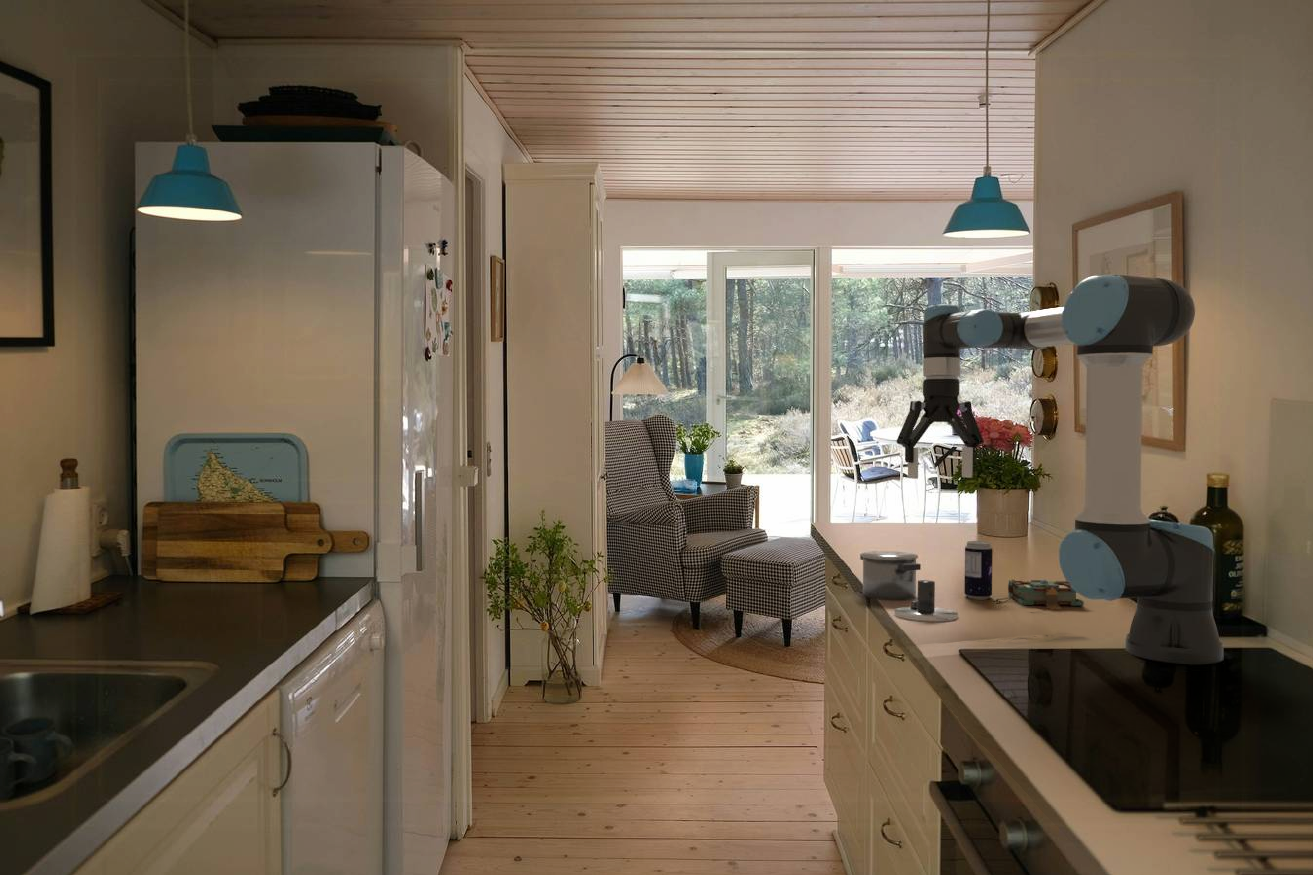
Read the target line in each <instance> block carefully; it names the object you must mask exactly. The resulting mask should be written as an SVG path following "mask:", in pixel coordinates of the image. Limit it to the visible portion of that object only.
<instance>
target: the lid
mask: <svg viewBox="0 0 1313 875" xmlns="http://www.w3.org/2000/svg"><path fill="white" fill-rule="evenodd" d="M935 583H936V582H935V581H934V580H925V579H923V580H918V581H917V600H910V606H902V607H897V608H895V609H894V614H893V615H894V616H895V617H896V618H899V619H902V620H907V621H911V622H912V621H913V622H924V623H925V622H926V623H945V622H951V621H952V622H953V621H956V620H958V619H959V613H958V612H957V611H956V610H952V609H950V608H949V609H948V608H943V607H937V606H936V607H935V597H936V596H935V594H936V592H935V590H936V588H935V585H936V584H935Z"/></svg>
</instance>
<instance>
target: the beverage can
mask: <svg viewBox="0 0 1313 875" xmlns="http://www.w3.org/2000/svg"><path fill="white" fill-rule="evenodd" d="M993 555H994V554H993V547H992V545H991V542H990V541H985V540H983V541H982V540H981V541H979V540H970V541H966V545H965V547H964V584H963V585H964V586H963V587H964V589H963V590H964V591H963V592H964V595H965V596H966V597H967V598H968V599H973V600H978V601H979V600H980V601H981V600H989V598H990V597H991V596H992V595H993Z"/></svg>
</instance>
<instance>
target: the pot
mask: <svg viewBox="0 0 1313 875" xmlns="http://www.w3.org/2000/svg"><path fill="white" fill-rule="evenodd" d="M859 556H860V557H859V558H860V561H861V560H862V595H863V596H865V597H867V598H870V599H875V600H880V601H889V602H890V601H891V602H892V601H893V602H895V601H896V602H899V601H912V600H913V599H916V597H917V571H921V570H922V569H921V566H922V565H921V563H918V562H917V559H919V555H918V554H916V553H912V552H906V551H905V552H904V551H890V550H875V551H872V550H871V551H865V552H861V553H860V555H859Z"/></svg>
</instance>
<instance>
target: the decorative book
mask: <svg viewBox="0 0 1313 875" xmlns="http://www.w3.org/2000/svg"><path fill="white" fill-rule="evenodd" d="M1007 591H1008V593H1007V594H1008V597H1005V598H996V600H995V599H994V600H992V602H993V603H994V602H995V604H996V605H997V604H998V605H1000V604H1003V603H1006V602H1008V601H1010V600H1015V601H1017V603H1018V604H1019V605H1021V606H1034V605H1043V606H1045V608H1046V609H1048V608H1049V610H1061V609H1062V607H1061V606H1060V605H1066V606H1068V605H1070V606H1080V607H1081V606H1083V607H1084V606H1085V605H1084V600H1082V599H1080V598H1077V594H1078V593H1077V592H1076V591H1075V590H1074V589H1073V588H1072V587H1071V585H1070V583H1069V582H1067V581H1066V579H1065V580H1064V581H1061V580H1055V581H1047V580H1046V579H1042V580H1038V579H1036V580H1035V579H1034V580H1032V579H1031V580H1030V581H1022V580H1015V579H1013V578H1012V579H1011V580H1008V585H1007ZM1006 599H1007V600H1006ZM1002 600H1005V601H1002Z"/></svg>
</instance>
